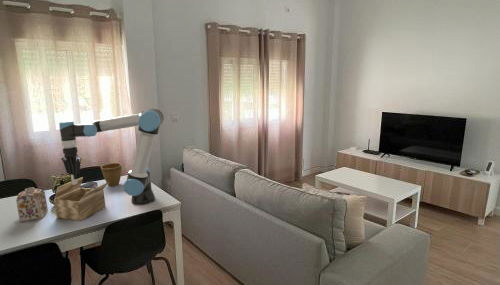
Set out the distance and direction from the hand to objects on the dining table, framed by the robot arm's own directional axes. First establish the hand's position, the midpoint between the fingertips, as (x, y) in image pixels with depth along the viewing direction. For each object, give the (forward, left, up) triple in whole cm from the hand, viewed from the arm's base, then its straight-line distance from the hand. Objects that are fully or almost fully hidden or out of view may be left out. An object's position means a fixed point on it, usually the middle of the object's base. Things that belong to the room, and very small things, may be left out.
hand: (74, 184), depth 187 cm
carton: (-2, 0, -19) cm, 19 cm away
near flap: (-14, 0, -3) cm, 15 cm away
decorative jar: (+23, +11, -19) cm, 31 cm away
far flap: (+4, 0, -3) cm, 5 cm away
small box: (+11, -21, -19) cm, 30 cm away
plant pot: (+12, -47, -19) cm, 52 cm away
